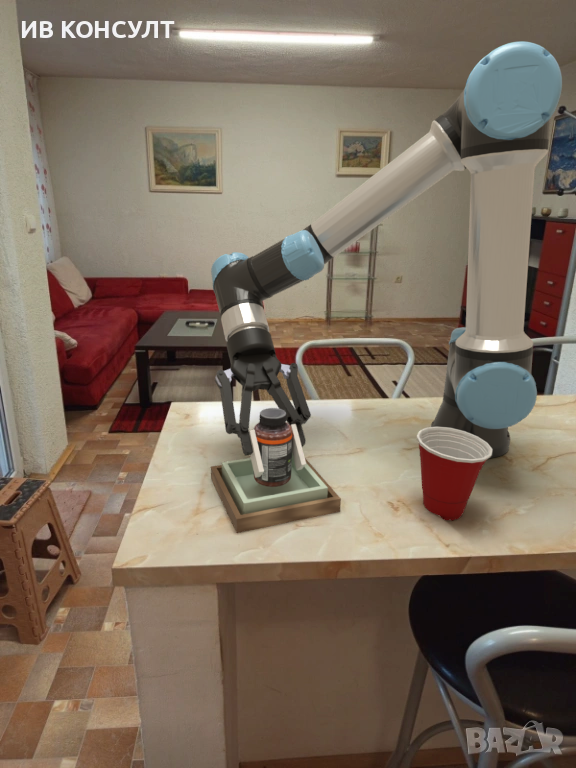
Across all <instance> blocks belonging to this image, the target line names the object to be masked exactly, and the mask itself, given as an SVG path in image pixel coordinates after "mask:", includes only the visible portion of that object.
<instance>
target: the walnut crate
mask: <svg viewBox="0 0 576 768" xmlns="http://www.w3.org/2000/svg"><path fill="white" fill-rule="evenodd" d="M305 461H306V463H307V464H308V465H309V467H310V468H311V469H312V470H313V471H314V472H315V474H316V475H317V476H318V477H319V478H320V479H321V480H322V482H323V483H324V484H325V485H326V486H327V487H328V494H327V498H325V499H320V500H315V501H310V502H305V503H300V504H295V505H289V506H284V507H279V508H274V509H269V510H264V511H259V512H254V513H248V514H243V515H240V513H239V511H238V509H237V507H236V505H235V503H234V501H233V499H232V497H231V495H230V493H229V491H228V489H227V487H226V485H225V483H224V482H223V480H222V464H219V465H213V466H210V479H211V481H212V484H213V485H214V487H215V491H216V492H217V495H218V496H219V498H220V500H221V502H222V504H223V507H224V509H225V511H226V513H227V515H228V517H229V519H230V520H229V521H230V522H231V523H232V526H233V528H234V530H235V532H236V533H237V534H238V533H243V532H249V531H254V530H259V529H264V528H269V527H273V526H278V525H282V524H287V523H288V524H289V523H292V522H297V521H301V520H307V519H310V518H316V517H321V516H326V515H330V514H336V513H340V512H341V504H342V503H341V502H342V501H341V500H342V498H341V497H340V495H338V494H337V492H336V491H335V490H334V489H333V488H332V487H331V486H330V485H329V484H328V482H327V481H326V480H325V479H324V478H323V476H321V474H320V473H319V472H318V470H316V468H315V467H314V466H313V465H312V464H311V463H310V461H309V460H308V459H307V458H306V457H305Z"/></svg>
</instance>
